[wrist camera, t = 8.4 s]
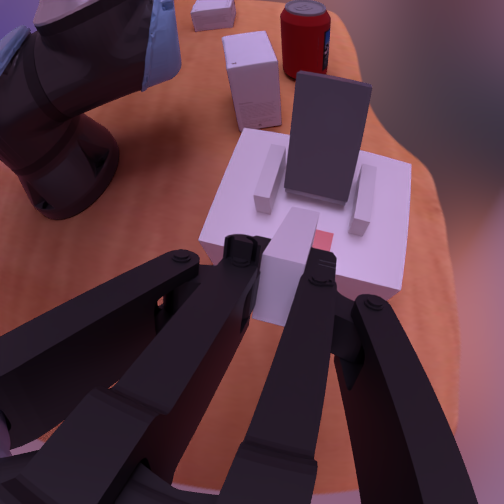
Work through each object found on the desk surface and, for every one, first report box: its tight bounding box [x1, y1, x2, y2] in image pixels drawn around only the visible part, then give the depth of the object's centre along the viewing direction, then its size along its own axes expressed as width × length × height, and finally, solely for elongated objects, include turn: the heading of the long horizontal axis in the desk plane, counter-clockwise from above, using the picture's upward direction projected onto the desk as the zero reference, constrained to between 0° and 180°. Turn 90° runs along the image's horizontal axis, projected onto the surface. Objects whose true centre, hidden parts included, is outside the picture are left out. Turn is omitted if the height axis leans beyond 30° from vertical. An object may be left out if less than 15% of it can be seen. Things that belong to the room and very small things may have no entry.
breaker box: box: [198, 128, 411, 301], centre depth 28 cm, size 12×16×10 cm
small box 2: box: [222, 31, 282, 131], centre depth 35 cm, size 8×6×10 cm
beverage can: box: [280, 0, 331, 79], centre depth 37 cm, size 7×7×12 cm
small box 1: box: [191, 0, 236, 32], centre depth 49 cm, size 8×8×5 cm
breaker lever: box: [284, 71, 372, 206], centre depth 22 cm, size 2×5×10 cm, turn 72°
